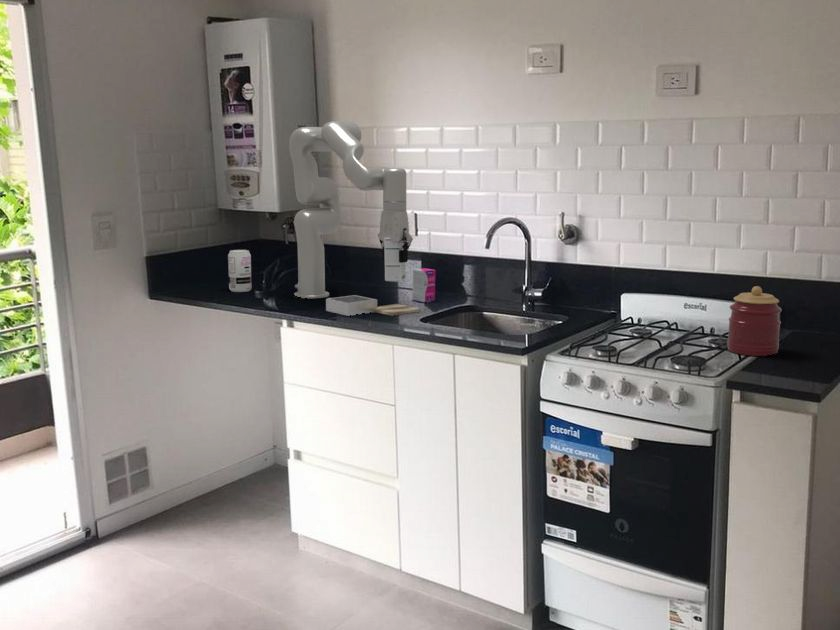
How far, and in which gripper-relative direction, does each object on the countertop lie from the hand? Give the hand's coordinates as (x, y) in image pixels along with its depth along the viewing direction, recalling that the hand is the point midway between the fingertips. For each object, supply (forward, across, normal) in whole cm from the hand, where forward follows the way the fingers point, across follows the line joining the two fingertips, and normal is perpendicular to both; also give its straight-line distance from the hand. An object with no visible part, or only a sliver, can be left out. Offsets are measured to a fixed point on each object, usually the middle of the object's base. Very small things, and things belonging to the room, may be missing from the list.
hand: (395, 260), depth 290 cm
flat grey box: (+17, -13, -11) cm, 24 cm away
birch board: (+17, 0, 0) cm, 17 cm away
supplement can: (+17, -70, -17) cm, 74 cm away
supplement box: (+17, -8, +20) cm, 28 cm away
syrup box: (+7, 0, 0) cm, 7 cm away
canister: (+18, +107, +35) cm, 114 cm away
